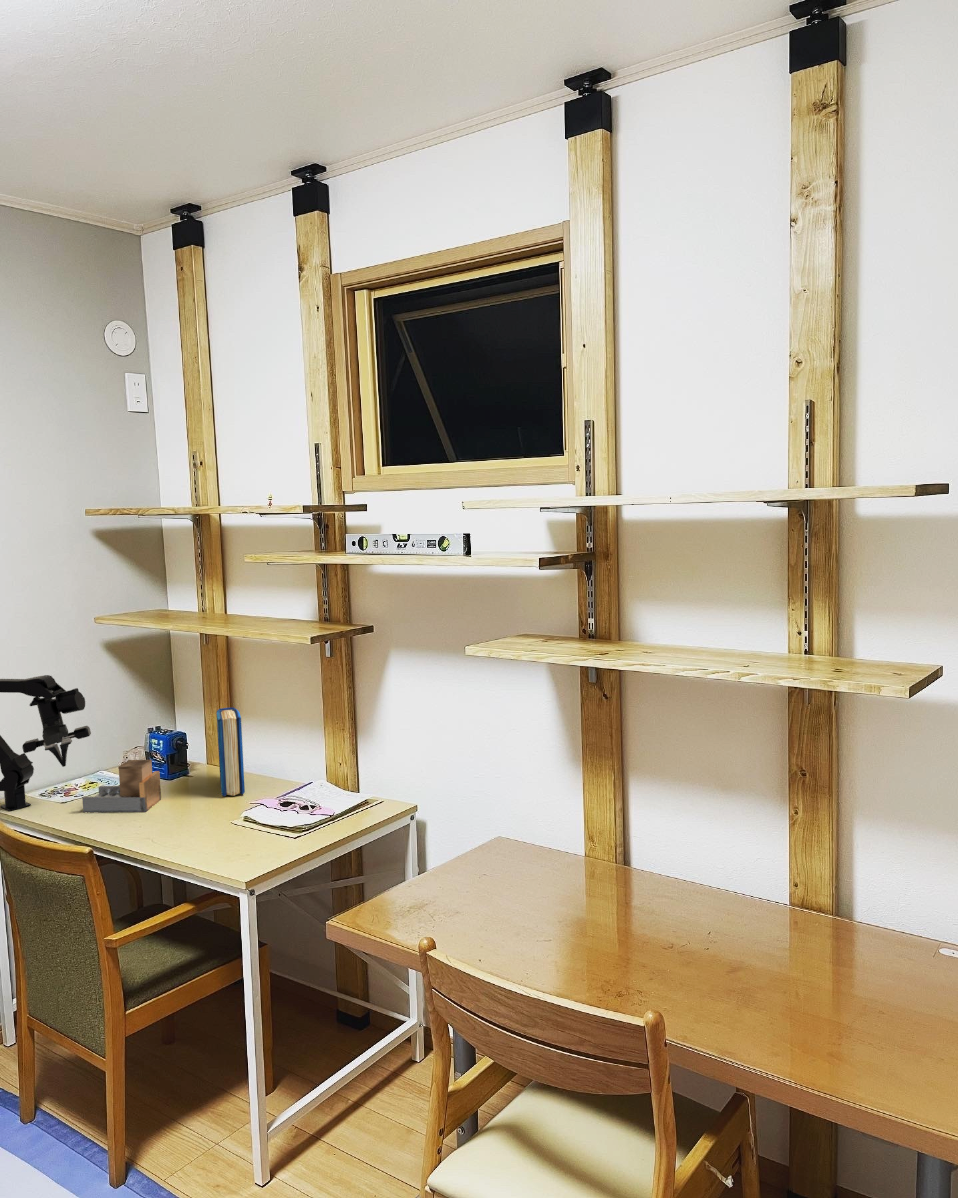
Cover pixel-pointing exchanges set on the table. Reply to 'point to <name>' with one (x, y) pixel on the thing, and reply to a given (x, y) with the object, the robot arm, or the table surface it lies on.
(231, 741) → the book
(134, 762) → the brown wooden block
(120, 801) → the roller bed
